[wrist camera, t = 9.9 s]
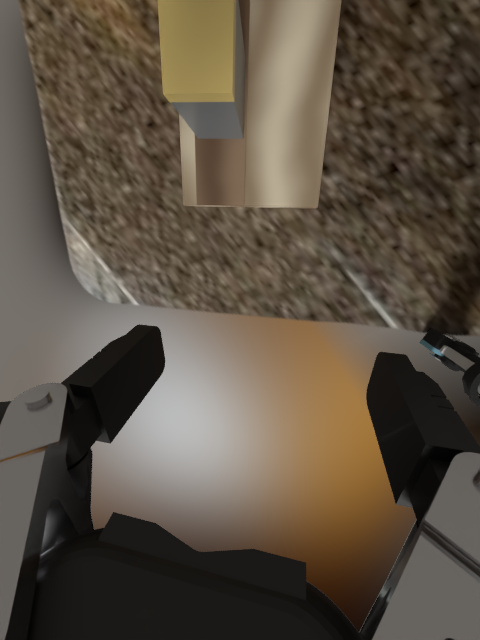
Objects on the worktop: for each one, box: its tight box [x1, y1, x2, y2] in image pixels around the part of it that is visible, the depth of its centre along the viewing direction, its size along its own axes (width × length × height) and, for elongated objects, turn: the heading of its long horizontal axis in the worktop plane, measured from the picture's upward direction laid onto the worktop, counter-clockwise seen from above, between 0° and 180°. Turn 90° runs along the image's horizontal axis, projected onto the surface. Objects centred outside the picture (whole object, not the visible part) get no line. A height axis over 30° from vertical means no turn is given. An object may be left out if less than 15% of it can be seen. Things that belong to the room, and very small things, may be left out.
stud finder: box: [158, 0, 246, 139], centre depth 20 cm, size 4×6×9 cm
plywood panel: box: [179, 0, 341, 208], centre depth 25 cm, size 14×18×1 cm
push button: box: [420, 328, 480, 408], centre depth 27 cm, size 7×5×10 cm
